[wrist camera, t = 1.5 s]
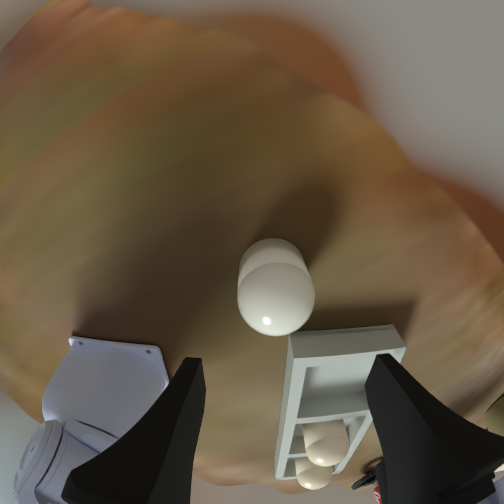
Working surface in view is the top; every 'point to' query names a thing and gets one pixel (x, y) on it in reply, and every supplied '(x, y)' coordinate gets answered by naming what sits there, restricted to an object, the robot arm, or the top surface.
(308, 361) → the egg carton
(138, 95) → the top surface
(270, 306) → the egg
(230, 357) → the top surface
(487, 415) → the squeeze bottle
